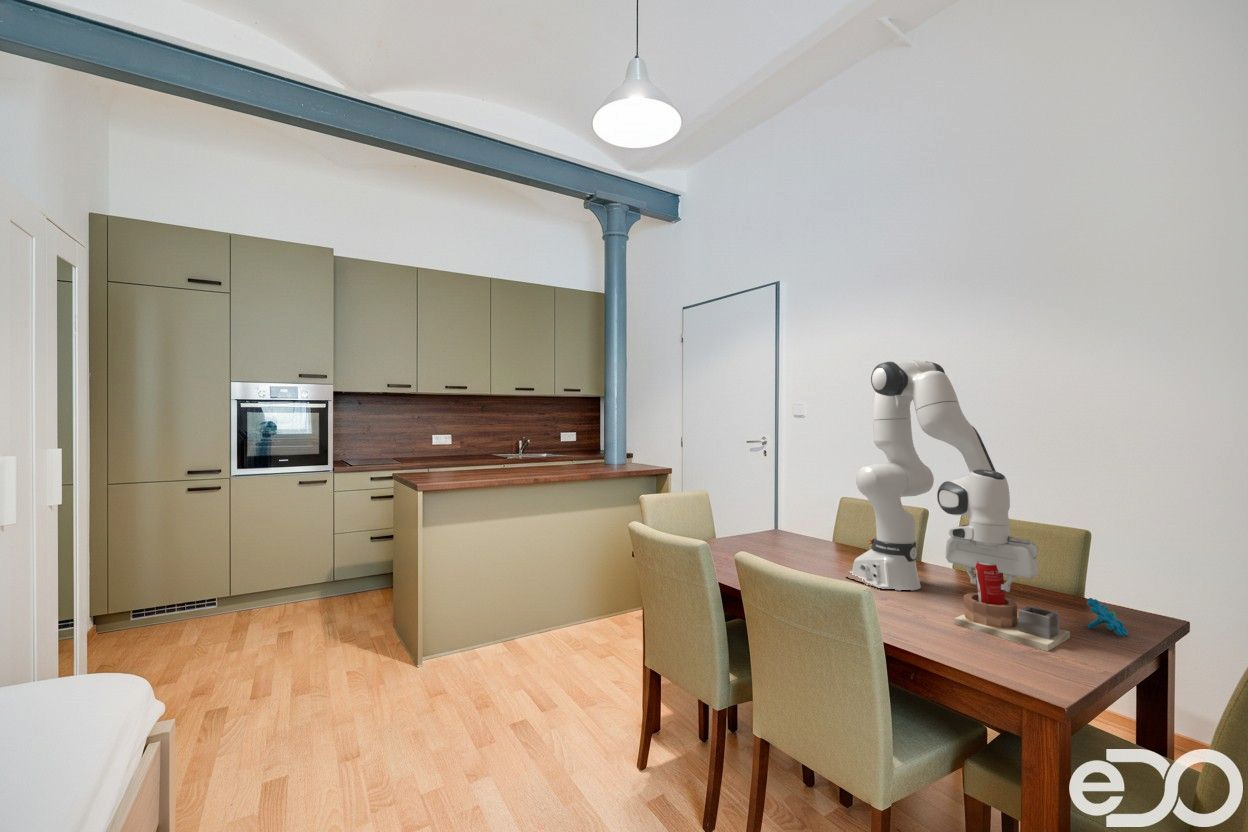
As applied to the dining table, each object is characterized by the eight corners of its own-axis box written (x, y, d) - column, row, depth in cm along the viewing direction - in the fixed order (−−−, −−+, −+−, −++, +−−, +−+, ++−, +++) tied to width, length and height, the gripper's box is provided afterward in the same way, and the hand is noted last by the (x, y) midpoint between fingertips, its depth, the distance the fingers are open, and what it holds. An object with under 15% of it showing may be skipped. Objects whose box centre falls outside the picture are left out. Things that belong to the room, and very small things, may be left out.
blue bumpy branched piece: (1123, 635, 128) (1086, 597, 134) (1099, 647, 131) (1064, 609, 137) (1137, 631, 134) (1101, 595, 140) (1114, 643, 137) (1080, 607, 143)
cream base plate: (954, 624, 140) (954, 598, 140) (978, 613, 147) (978, 589, 148) (1047, 651, 123) (1047, 622, 123) (1069, 637, 131) (1069, 610, 131)
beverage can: (1010, 618, 139) (1008, 560, 138) (999, 625, 135) (997, 565, 135) (985, 611, 144) (982, 555, 143) (973, 618, 140) (971, 560, 140)
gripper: (1042, 539, 132) (1043, 596, 132) (953, 526, 149) (954, 576, 149) (1031, 542, 129) (1032, 600, 129) (942, 528, 146) (942, 580, 146)
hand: (989, 587), depth 139 cm, fingers closed on beverage can, 6 cm apart
